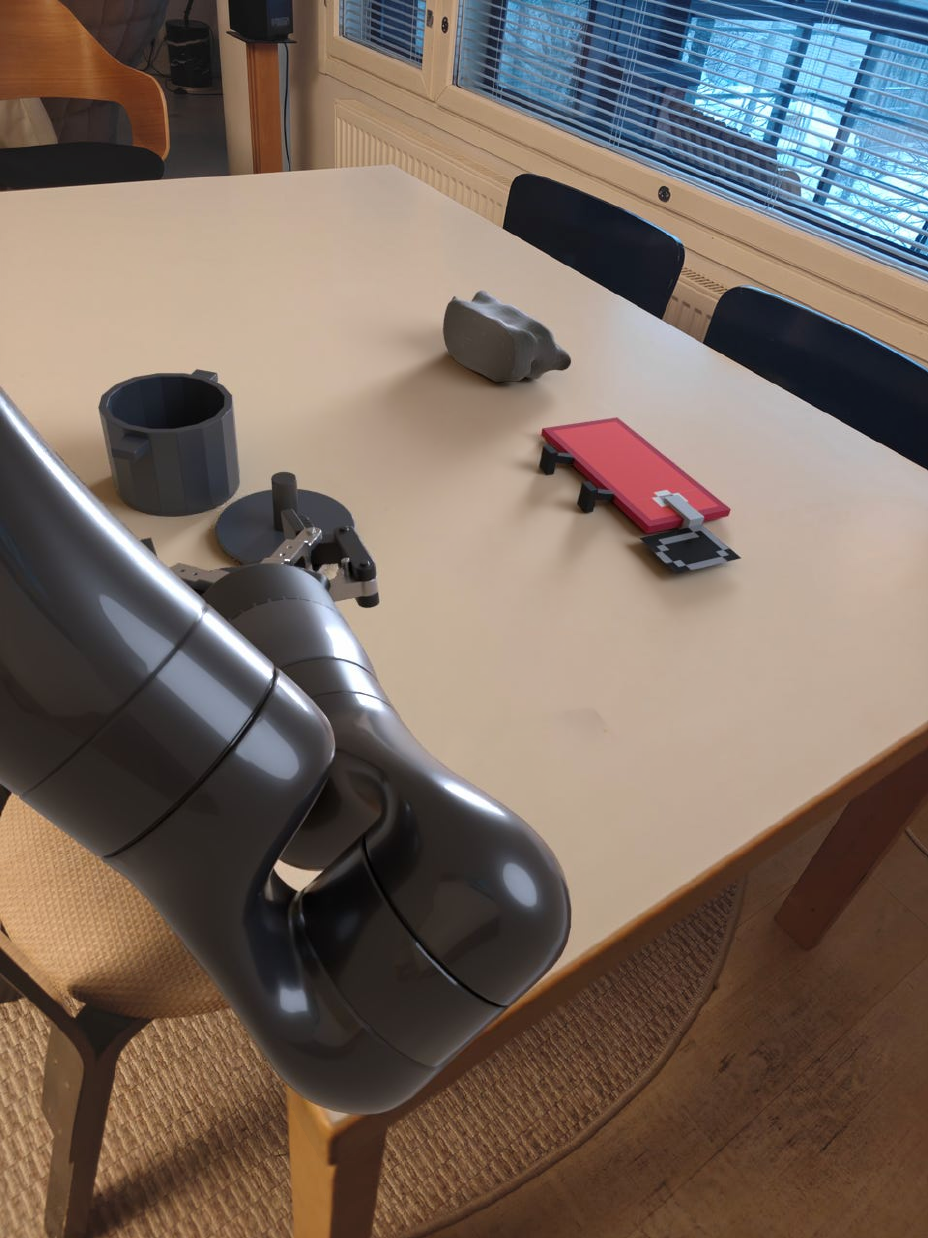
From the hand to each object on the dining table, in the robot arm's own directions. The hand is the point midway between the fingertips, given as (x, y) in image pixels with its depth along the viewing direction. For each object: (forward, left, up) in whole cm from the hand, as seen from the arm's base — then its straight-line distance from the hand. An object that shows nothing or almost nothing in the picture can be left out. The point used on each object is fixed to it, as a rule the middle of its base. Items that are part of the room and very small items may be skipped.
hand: (219, 537), depth 53 cm
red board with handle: (+27, +47, -20) cm, 58 cm away
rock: (+6, +76, -20) cm, 79 cm away
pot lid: (-7, +27, -19) cm, 34 cm away
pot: (-21, +32, -20) cm, 43 cm away
